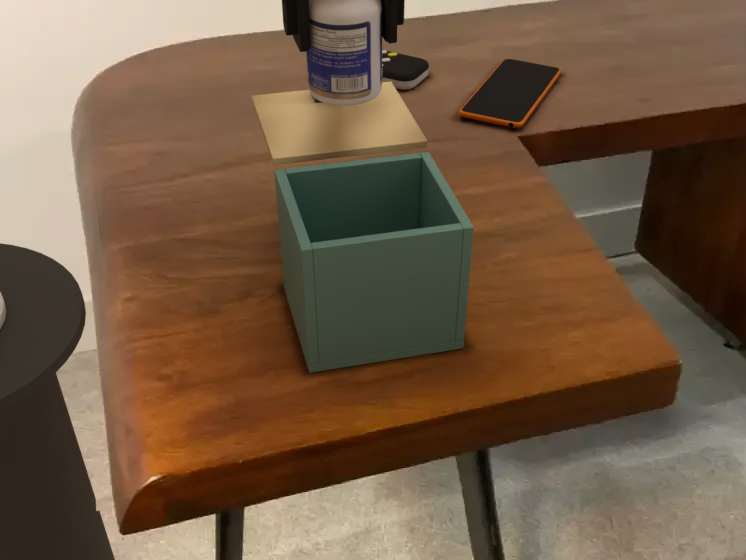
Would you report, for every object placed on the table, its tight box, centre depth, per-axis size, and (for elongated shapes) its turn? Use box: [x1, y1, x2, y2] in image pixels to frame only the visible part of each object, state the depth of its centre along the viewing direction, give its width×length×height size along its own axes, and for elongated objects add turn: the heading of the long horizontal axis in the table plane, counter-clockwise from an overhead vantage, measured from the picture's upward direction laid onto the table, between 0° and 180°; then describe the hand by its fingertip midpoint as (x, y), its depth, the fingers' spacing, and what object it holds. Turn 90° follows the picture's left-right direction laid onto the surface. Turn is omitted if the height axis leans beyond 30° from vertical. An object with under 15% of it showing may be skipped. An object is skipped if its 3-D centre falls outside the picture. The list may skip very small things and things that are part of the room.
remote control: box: [382, 49, 430, 91], centre depth 111 cm, size 6×13×2 cm, turn 62°
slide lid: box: [251, 82, 428, 166], centre depth 75 cm, size 13×12×6 cm
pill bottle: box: [305, 0, 383, 106], centre depth 62 cm, size 5×5×9 cm
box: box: [274, 151, 475, 373], centre depth 72 cm, size 13×12×11 cm
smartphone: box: [458, 58, 562, 129], centre depth 107 cm, size 8×17×1 cm, turn 156°
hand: (344, 37), depth 63 cm, fingers closed on pill bottle, 5 cm apart
